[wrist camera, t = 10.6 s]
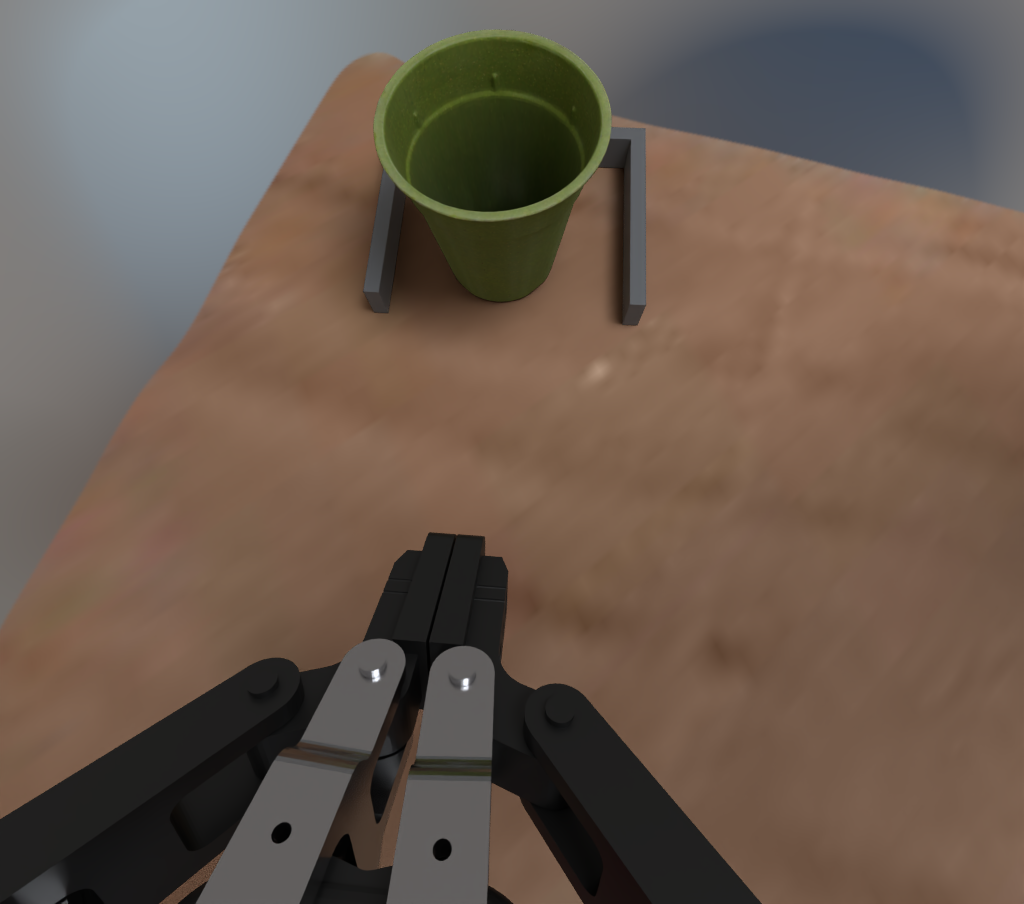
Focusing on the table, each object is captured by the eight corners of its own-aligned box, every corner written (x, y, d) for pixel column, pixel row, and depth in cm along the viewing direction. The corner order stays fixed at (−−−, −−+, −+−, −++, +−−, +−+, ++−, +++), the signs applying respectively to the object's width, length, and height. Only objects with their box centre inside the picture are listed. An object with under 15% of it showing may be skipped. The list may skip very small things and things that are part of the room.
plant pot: (396, 221, 37) (344, 67, 26) (547, 171, 38) (557, 3, 27) (448, 359, 34) (414, 250, 23) (612, 302, 35) (652, 171, 24)
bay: (637, 157, 38) (645, 128, 36) (637, 325, 35) (645, 305, 32) (399, 148, 39) (391, 119, 37) (374, 312, 35) (363, 291, 33)
